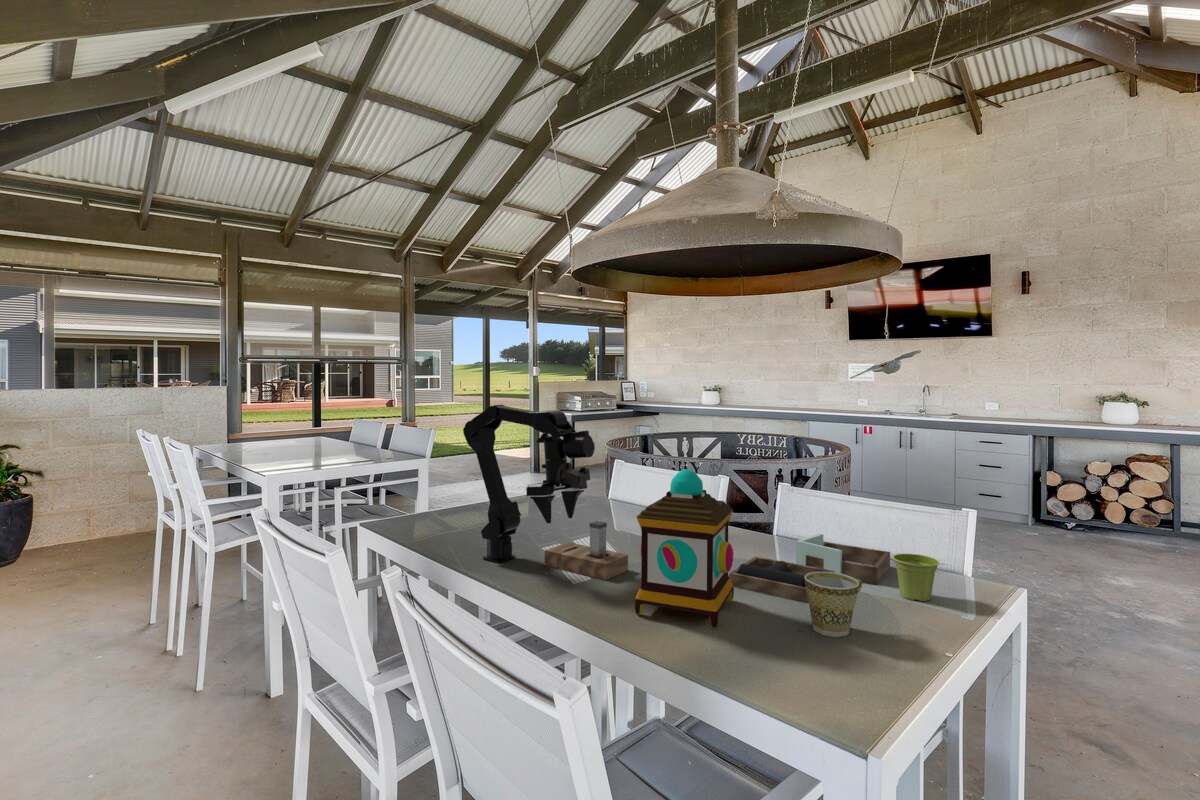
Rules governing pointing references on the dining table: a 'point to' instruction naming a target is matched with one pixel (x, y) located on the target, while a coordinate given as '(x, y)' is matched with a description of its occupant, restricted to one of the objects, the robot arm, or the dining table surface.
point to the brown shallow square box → (860, 556)
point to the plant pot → (915, 575)
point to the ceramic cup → (831, 601)
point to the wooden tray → (773, 586)
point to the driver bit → (598, 539)
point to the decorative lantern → (686, 550)
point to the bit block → (586, 561)
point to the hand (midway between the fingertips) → (559, 520)
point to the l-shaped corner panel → (818, 553)
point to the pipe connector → (774, 573)
